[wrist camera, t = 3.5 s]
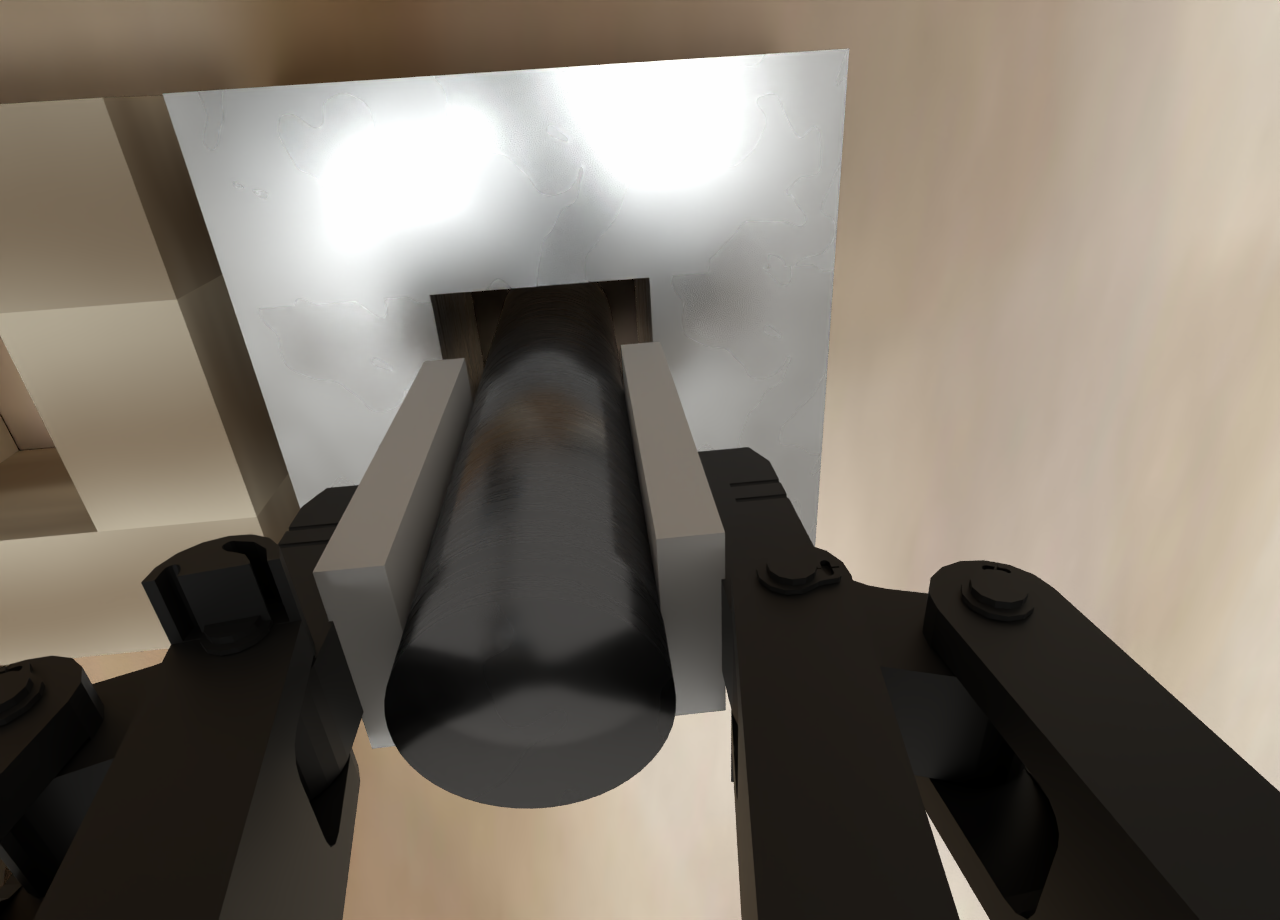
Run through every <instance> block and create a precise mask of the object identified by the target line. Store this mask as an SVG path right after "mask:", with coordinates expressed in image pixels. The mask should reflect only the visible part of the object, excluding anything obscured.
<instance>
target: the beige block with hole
mask: <svg viewBox="0 0 1280 920" xmlns="http://www.w3.org/2000/svg"><path fill="white" fill-rule="evenodd" d="M0 336H1V338H2V340H3V342H4V344H5V346H6V348H7V350H8V352H9V354H10V356H11V359H12V361H13V363H14V365H15V367H16V369H17V371H18V373H19V375H20V377H21V379H22V381H23V383H24V385H25V387H26V389H27V391H28V393H29V395H30V397H31V399H32V401H33V403H34V405H35V407H36V409H37V411H38V413H39V415H40V417H41V419H42V421H43V423H44V425H45V427H46V429H47V431H48V433H49V435H50V437H51V439H52V441H53V443H54V445H55V447H56V448H45V449H34V450H22V451H19V450H18V448H17V446H16V444H15V442H14V441H13V439H12V437H11V435H10V433H9V431H8V429H7V427H6V425H5V423H4V422H3V420H2V418H1V416H0V665H9V664H12V663H16V662H20V661H23V660H27V659H33V658H39V657H46V656H60V657H69V658H79V657H89V656H99V655H109V654H119V653H129V652H139V651H148V650H158V649H168V648H170V646H171V644H170V642H169V640H168V637H167V635H166V633H165V631H164V629H163V627H162V625H161V623H160V621H159V619H158V617H157V615H156V613H155V611H154V609H153V606H152V604H151V602H150V600H149V598H148V596H147V594H146V592H145V590H144V588H143V586H142V584H141V582H142V581H143V580H144V579H145V578H146V577H147V576H148V575H149V574H150V572H151V571H152V570H153V569H154V568H155V567H157V566H158V565H160V564H161V563H163V562H164V561H166V560H167V559H169V558H170V557H172V556H174V555H175V554H177V553H179V552H181V551H184V550H186V549H188V548H191V547H193V546H195V545H198V544H200V543H202V542H206V541H210V540H214V539H218V538H222V537H226V536H234V535H248V534H253V535H258V536H263V537H268V538H270V539H272V540H273V541H274V542H275V543H276V544H277V545H278V543H279V542H280V540H281V539H282V537H283V535H284V534H285V532H286V531H289V526H290V524H291V523H292V521H293V520H294V518H295V517H296V515H297V513H298V512H299V510H300V506H299V503H298V500H297V497H296V494H295V491H294V488H293V485H292V482H291V479H290V476H289V473H288V470H287V467H286V464H285V461H284V458H283V455H282V452H281V449H280V446H279V443H278V440H277V437H276V434H275V431H274V428H273V425H272V422H271V419H270V416H269V413H268V410H267V407H266V404H265V401H264V398H263V395H262V392H261V389H260V386H259V383H258V380H257V377H256V374H255V371H254V368H253V365H252V362H251V359H250V356H249V353H248V350H247V347H246V344H245V341H244V338H243V335H242V332H241V329H240V326H239V323H238V320H237V317H236V314H235V311H234V307H233V304H232V301H231V298H230V295H229V292H228V289H227V286H226V283H225V280H224V277H223V274H222V271H221V268H220V265H219V262H218V259H217V256H216V253H215V250H214V247H213V244H212V241H211V238H210V235H209V232H208V229H207V226H206V223H205V220H204V217H203V214H202V211H201V208H200V205H199V202H198V199H197V196H196V193H195V190H194V187H193V184H192V181H191V178H190V175H189V172H188V169H187V166H186V163H185V160H184V157H183V154H182V151H181V148H180V145H179V142H178V139H177V136H176V133H175V130H174V127H173V124H172V121H171V118H170V115H169V112H168V109H167V106H166V103H165V100H164V97H163V96H132V97H102V98H87V99H71V100H56V101H41V102H26V103H10V104H0Z"/></svg>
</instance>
